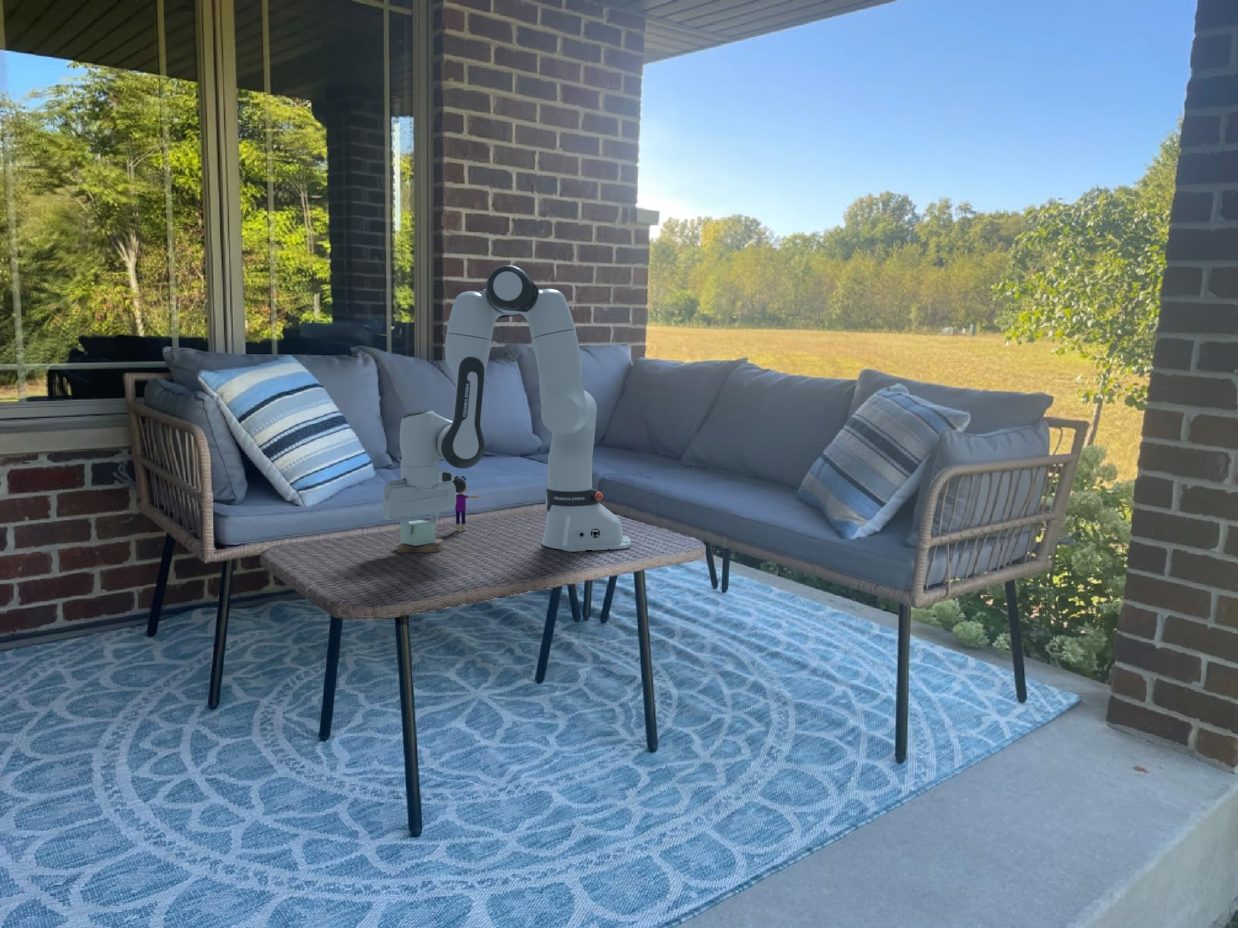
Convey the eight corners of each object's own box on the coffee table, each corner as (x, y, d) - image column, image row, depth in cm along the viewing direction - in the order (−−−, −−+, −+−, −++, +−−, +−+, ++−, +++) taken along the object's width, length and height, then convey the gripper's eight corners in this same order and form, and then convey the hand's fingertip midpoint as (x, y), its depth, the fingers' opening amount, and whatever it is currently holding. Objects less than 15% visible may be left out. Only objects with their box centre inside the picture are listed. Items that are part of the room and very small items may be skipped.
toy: (481, 530, 242) (480, 475, 240) (475, 534, 237) (474, 478, 235) (444, 528, 243) (443, 474, 242) (437, 533, 238) (436, 477, 236)
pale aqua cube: (420, 539, 225) (420, 519, 224) (435, 542, 221) (435, 522, 220) (400, 542, 220) (400, 522, 220) (415, 545, 216) (415, 525, 216)
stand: (443, 543, 226) (442, 523, 225) (438, 551, 216) (438, 531, 215) (402, 543, 225) (402, 524, 224) (396, 552, 215) (396, 532, 215)
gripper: (392, 482, 208) (393, 541, 210) (459, 473, 224) (460, 527, 225) (375, 480, 212) (377, 537, 213) (443, 471, 227) (444, 524, 229)
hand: (420, 532), depth 219 cm, fingers closed on pale aqua cube, 5 cm apart
